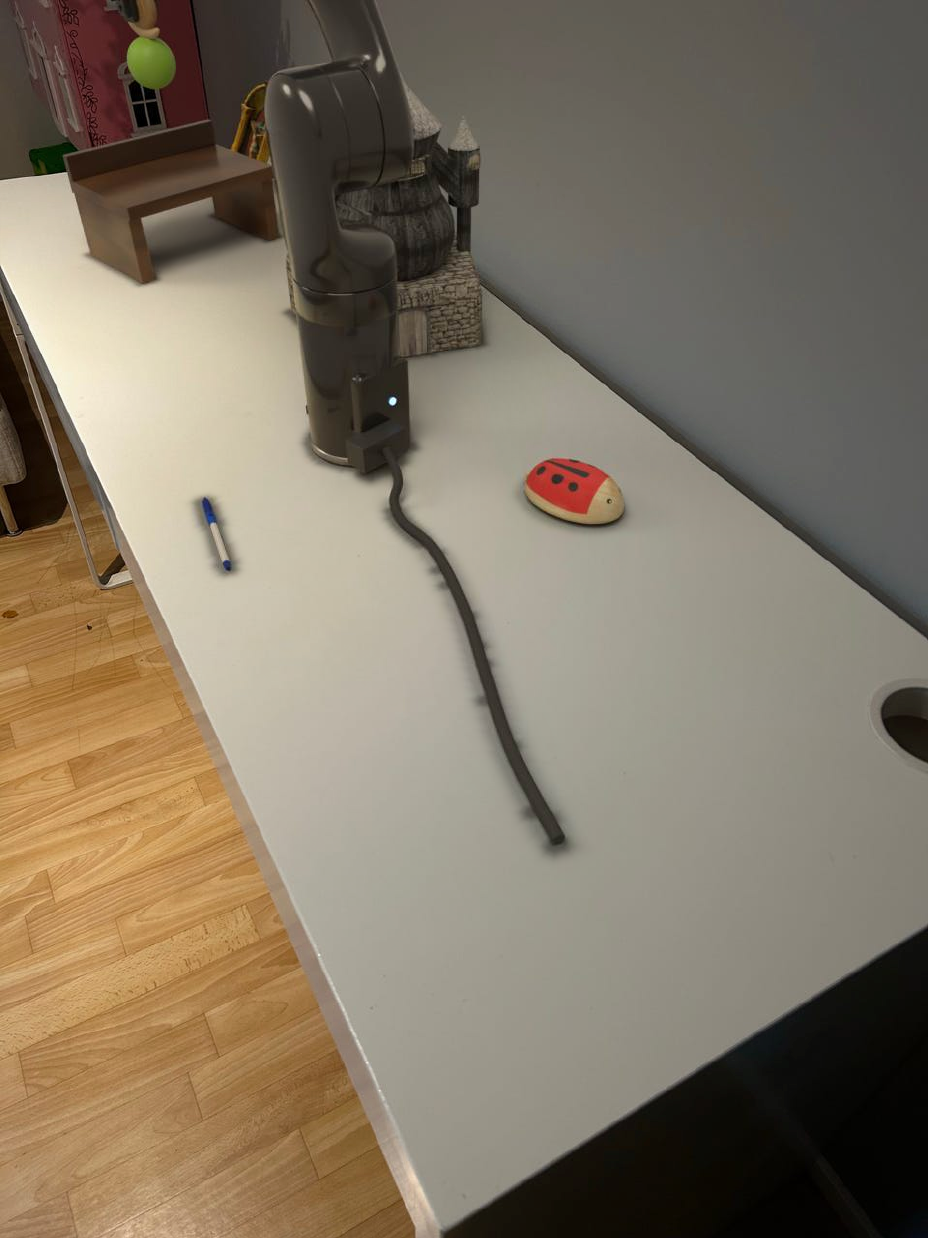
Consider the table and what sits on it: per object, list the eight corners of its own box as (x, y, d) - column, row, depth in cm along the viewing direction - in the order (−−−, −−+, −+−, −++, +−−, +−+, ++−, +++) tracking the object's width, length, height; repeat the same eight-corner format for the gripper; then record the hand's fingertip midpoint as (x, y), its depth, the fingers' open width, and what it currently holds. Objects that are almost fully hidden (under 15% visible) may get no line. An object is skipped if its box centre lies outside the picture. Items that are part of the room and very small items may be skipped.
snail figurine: (154, 77, 115) (132, -41, 106) (189, 87, 112) (168, -34, 103) (118, 87, 111) (92, -35, 103) (152, 97, 109) (128, -27, 100)
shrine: (283, 176, 150) (270, 70, 140) (294, 193, 144) (282, 84, 134) (210, 184, 147) (192, 76, 137) (219, 201, 141) (201, 91, 131)
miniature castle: (317, 370, 104) (283, 64, 83) (289, 308, 115) (254, 25, 95) (507, 342, 109) (519, 48, 89) (463, 285, 120) (465, 12, 100)
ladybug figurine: (606, 539, 82) (611, 506, 80) (507, 505, 86) (509, 473, 83) (635, 500, 87) (640, 468, 84) (539, 469, 90) (542, 438, 88)
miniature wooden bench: (281, 238, 131) (269, 141, 123) (145, 284, 120) (121, 181, 111) (223, 211, 138) (207, 118, 130) (88, 253, 127) (62, 154, 118)
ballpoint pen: (199, 504, 86) (197, 496, 85) (209, 502, 86) (207, 493, 86) (225, 573, 79) (223, 563, 78) (236, 570, 79) (234, 561, 78)
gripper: (59, -174, 89) (104, 35, 101) (181, -180, 97) (209, 16, 109) (20, -180, 93) (68, 23, 105) (140, -185, 100) (173, 5, 112)
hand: (140, 19), depth 107 cm, fingers closed on snail figurine
